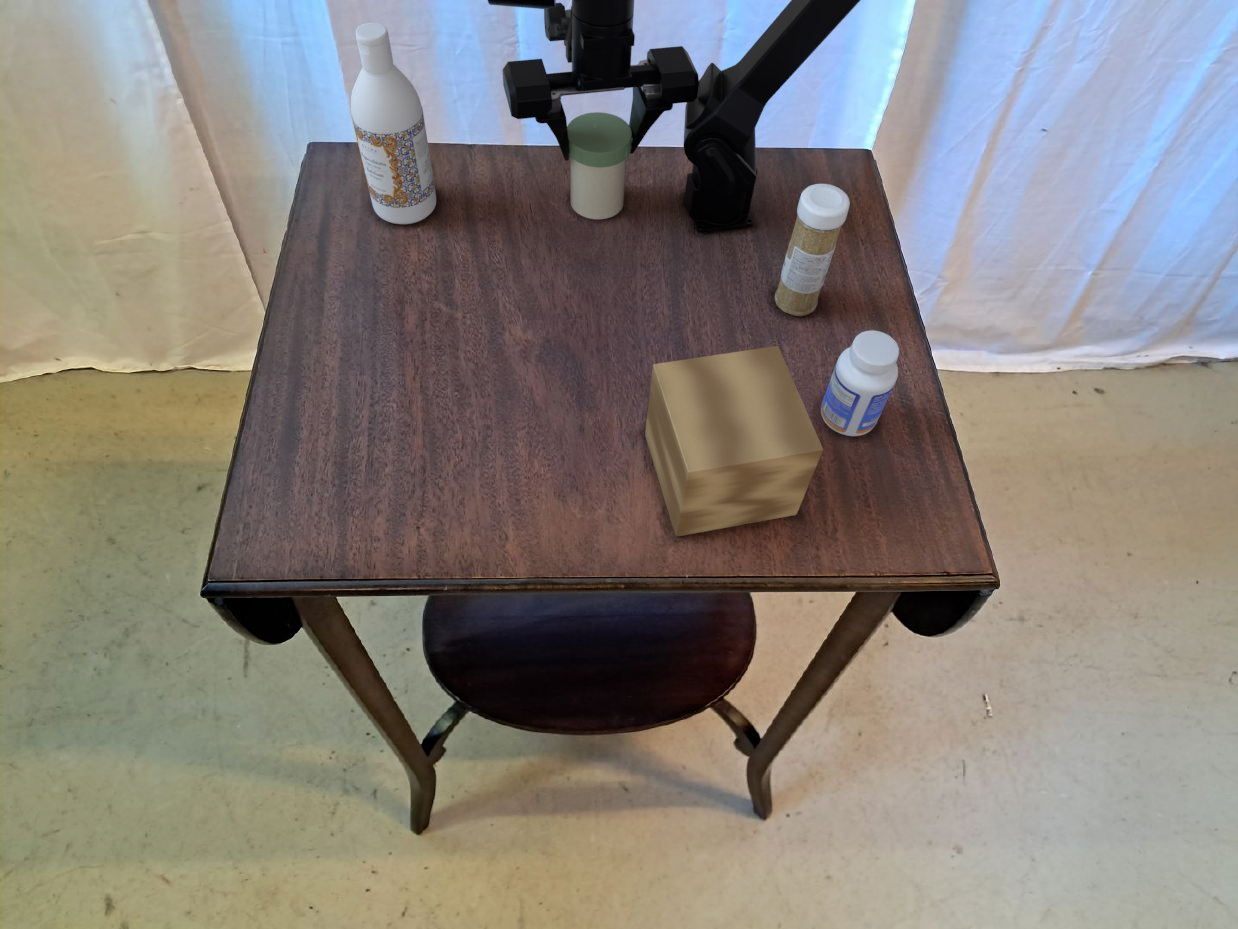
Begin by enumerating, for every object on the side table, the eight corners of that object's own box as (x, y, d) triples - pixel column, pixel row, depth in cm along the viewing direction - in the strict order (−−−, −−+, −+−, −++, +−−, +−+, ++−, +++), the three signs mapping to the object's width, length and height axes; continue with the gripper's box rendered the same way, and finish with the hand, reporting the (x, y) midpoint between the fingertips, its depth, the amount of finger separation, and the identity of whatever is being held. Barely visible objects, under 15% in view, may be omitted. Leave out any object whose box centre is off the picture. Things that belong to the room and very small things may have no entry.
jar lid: (622, 123, 95) (623, 109, 94) (637, 163, 92) (638, 148, 90) (560, 130, 94) (560, 115, 93) (573, 170, 91) (573, 155, 89)
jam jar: (617, 181, 101) (620, 115, 94) (629, 216, 98) (633, 150, 91) (565, 187, 100) (565, 120, 93) (576, 222, 97) (576, 156, 90)
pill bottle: (874, 396, 85) (906, 326, 77) (878, 441, 82) (911, 373, 74) (818, 390, 85) (843, 320, 77) (819, 435, 82) (846, 367, 74)
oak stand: (757, 416, 83) (778, 345, 75) (796, 515, 77) (823, 449, 69) (644, 434, 81) (652, 363, 73) (675, 537, 75) (688, 472, 67)
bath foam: (360, 210, 96) (316, 34, 80) (400, 177, 100) (366, 1, 83) (410, 235, 95) (375, 60, 78) (449, 200, 98) (424, 25, 81)
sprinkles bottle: (785, 280, 93) (814, 174, 82) (824, 298, 92) (859, 193, 81) (765, 306, 91) (792, 201, 80) (805, 324, 90) (838, 220, 79)
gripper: (677, -42, 87) (664, 101, 100) (488, -28, 84) (500, 117, 97) (709, 19, 81) (690, 163, 94) (507, 36, 78) (516, 182, 91)
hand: (598, 154), depth 94 cm, fingers closed on jar lid, 7 cm apart
